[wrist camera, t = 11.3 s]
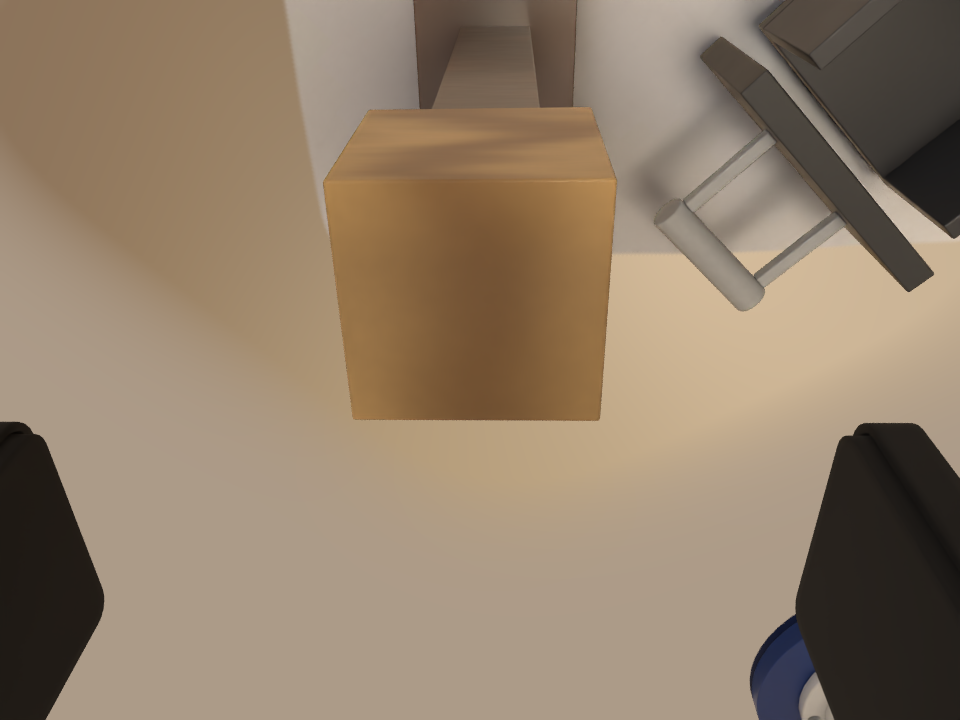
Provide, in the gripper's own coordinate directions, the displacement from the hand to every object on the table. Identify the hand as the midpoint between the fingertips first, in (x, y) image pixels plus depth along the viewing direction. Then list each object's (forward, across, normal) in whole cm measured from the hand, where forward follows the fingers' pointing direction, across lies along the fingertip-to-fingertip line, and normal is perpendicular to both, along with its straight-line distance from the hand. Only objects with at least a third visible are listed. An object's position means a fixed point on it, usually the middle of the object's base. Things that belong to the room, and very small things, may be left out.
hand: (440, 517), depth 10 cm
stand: (+31, 0, 0) cm, 31 cm away
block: (+11, 0, 0) cm, 11 cm away
